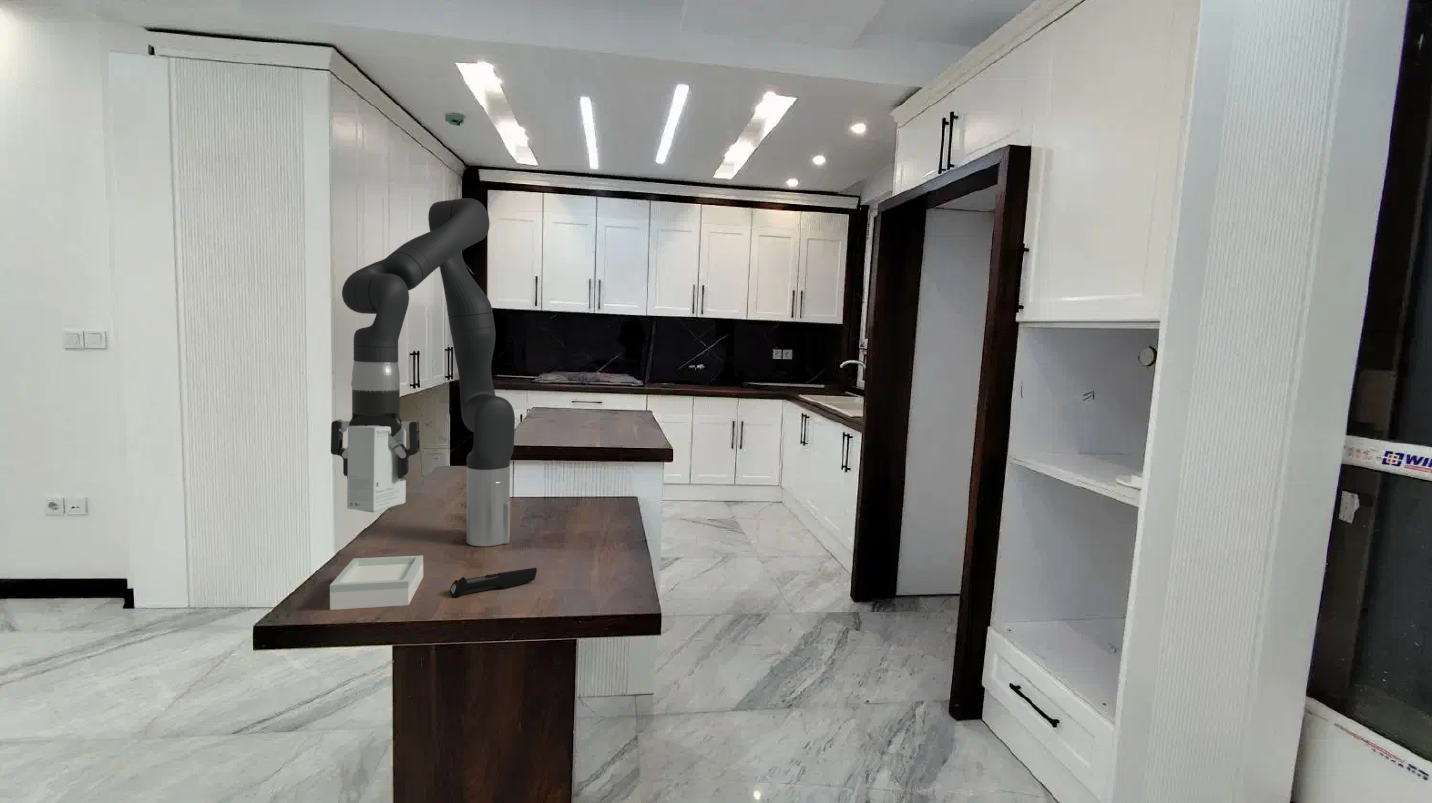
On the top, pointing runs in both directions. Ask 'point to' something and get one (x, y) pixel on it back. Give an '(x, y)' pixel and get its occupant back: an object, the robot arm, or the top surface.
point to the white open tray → (377, 582)
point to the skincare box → (373, 469)
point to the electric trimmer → (492, 581)
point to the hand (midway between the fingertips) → (376, 478)
